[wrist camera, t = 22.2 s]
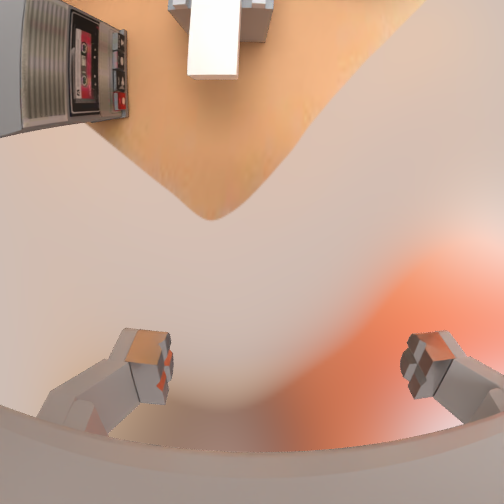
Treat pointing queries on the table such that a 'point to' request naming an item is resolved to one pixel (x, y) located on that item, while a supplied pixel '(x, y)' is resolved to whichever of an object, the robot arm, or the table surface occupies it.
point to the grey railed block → (252, 17)
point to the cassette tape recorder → (58, 67)
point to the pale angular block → (214, 39)
